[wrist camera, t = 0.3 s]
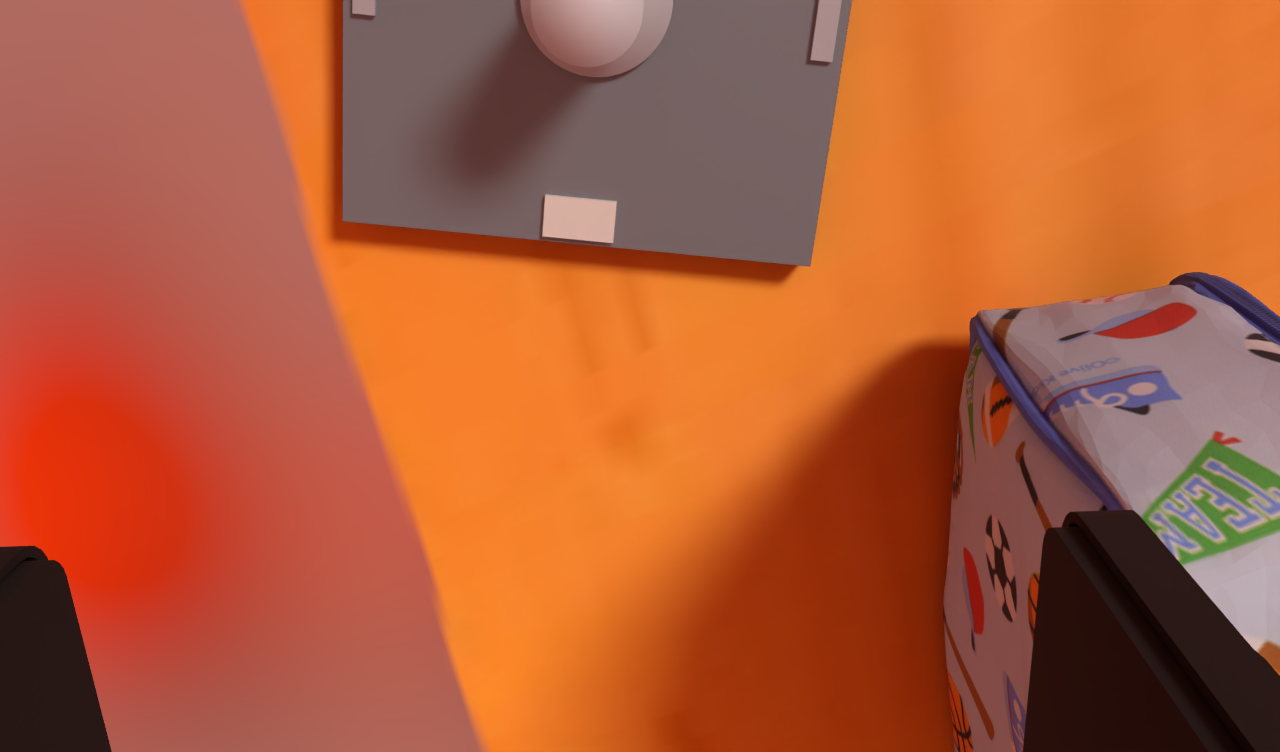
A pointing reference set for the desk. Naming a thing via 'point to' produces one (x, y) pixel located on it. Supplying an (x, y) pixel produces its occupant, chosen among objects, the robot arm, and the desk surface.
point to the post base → (595, 120)
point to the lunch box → (1109, 468)
